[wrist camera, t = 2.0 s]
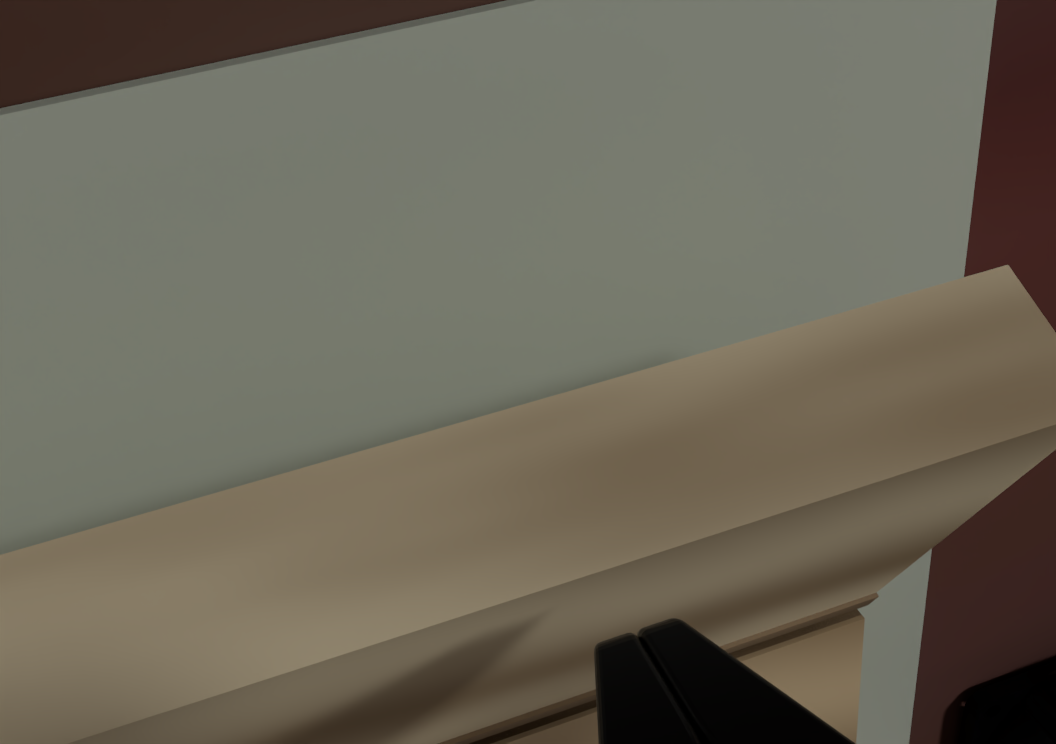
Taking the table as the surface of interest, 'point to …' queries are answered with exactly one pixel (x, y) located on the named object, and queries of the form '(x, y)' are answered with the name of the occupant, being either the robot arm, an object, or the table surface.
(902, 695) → the underlay mat
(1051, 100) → the table surface
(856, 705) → the oak board
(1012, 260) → the table surface
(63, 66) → the table surface
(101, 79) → the table surface
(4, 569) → the plank
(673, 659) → the robot arm
